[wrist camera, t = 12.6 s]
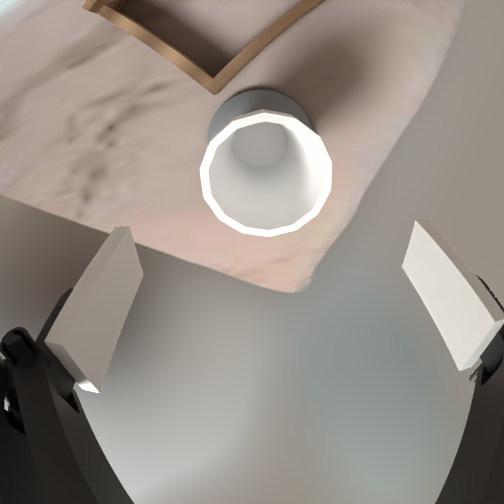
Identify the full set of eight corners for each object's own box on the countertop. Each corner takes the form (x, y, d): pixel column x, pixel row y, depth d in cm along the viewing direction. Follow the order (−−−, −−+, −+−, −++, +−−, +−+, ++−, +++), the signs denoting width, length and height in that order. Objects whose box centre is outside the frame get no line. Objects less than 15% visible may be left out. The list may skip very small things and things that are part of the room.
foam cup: (264, 84, 27) (275, 85, 16) (318, 144, 30) (356, 185, 20) (201, 140, 30) (173, 178, 19) (256, 194, 34) (260, 256, 23)
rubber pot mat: (187, 143, 31) (186, 145, 30) (259, 68, 26) (259, 68, 26) (261, 205, 36) (261, 208, 35) (332, 141, 31) (334, 142, 30)
